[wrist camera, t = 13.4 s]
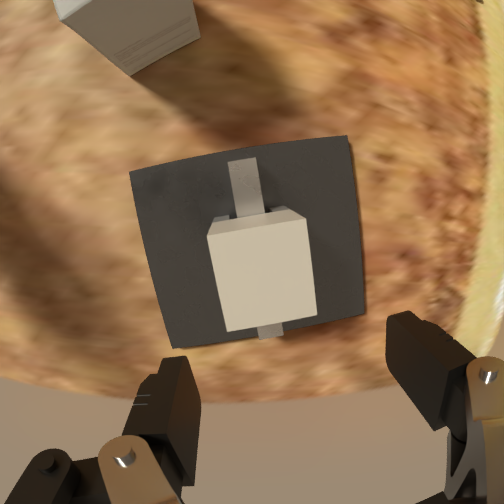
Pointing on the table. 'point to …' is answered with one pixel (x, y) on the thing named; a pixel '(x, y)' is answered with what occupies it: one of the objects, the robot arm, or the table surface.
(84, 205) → the table surface
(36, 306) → the table surface
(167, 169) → the rail board
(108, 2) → the supplement box
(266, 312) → the block
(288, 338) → the table surface
